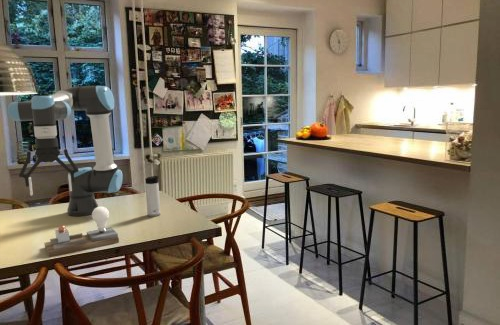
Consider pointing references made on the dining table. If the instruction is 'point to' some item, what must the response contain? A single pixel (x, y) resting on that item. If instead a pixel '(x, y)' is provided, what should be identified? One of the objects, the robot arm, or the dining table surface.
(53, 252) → the press base
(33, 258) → the dining table surface
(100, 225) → the light bulb
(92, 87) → the robot arm
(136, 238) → the dining table surface
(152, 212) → the travel mug
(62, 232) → the ram slider
